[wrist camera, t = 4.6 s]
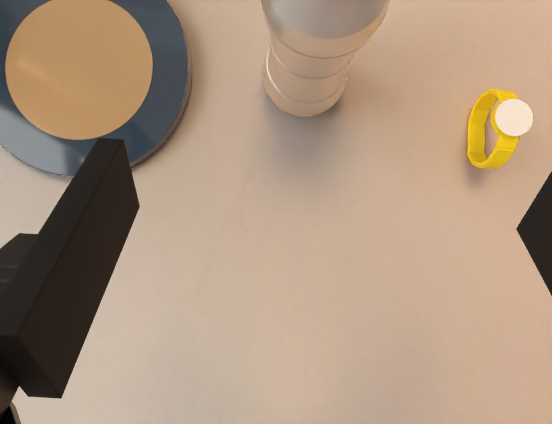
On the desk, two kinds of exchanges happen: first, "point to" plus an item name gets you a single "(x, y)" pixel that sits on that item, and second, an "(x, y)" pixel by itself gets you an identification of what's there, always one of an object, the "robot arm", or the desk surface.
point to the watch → (497, 126)
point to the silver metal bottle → (314, 49)
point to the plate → (89, 78)
